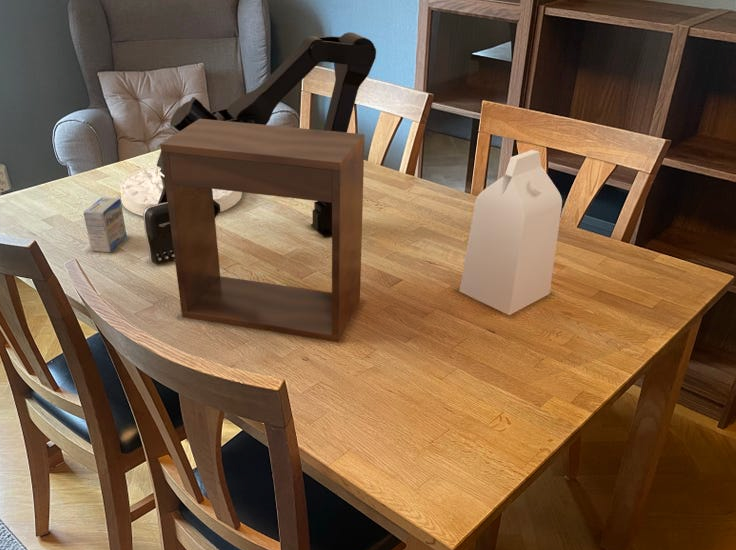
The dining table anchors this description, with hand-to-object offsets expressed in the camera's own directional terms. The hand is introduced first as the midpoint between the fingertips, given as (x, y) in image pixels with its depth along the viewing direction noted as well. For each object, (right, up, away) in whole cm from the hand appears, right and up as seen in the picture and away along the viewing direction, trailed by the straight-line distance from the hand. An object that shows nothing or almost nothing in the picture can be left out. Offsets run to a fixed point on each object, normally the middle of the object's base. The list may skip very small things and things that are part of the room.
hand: (163, 224), depth 142 cm
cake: (-3, +12, +32) cm, 35 cm away
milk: (+65, -14, -6) cm, 66 cm away
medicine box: (-14, -2, +10) cm, 17 cm away
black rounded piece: (0, -6, +4) cm, 8 cm away
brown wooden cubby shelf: (+22, -17, -12) cm, 30 cm away
